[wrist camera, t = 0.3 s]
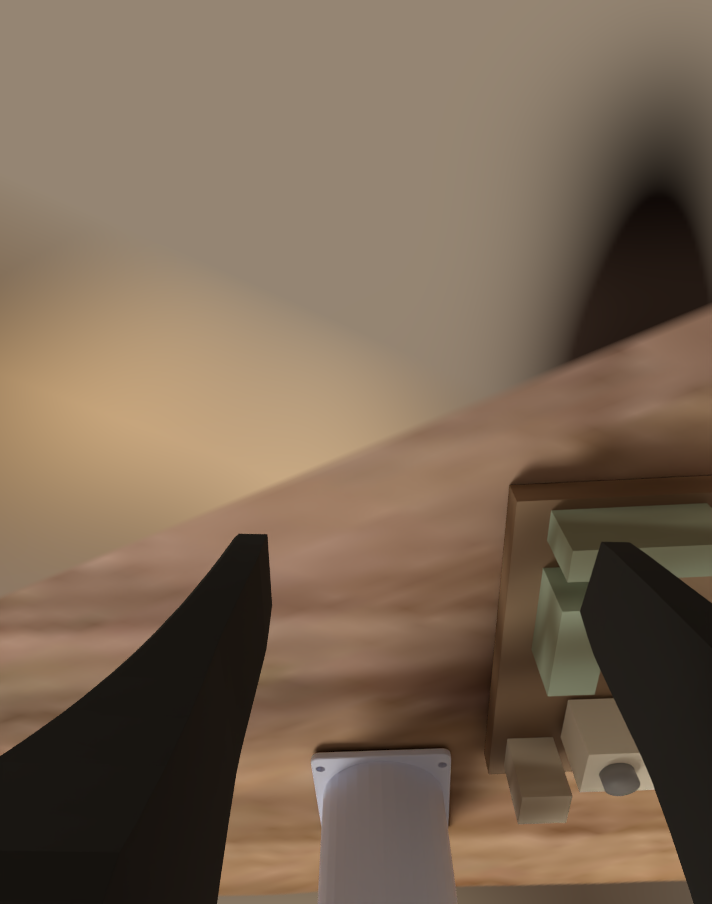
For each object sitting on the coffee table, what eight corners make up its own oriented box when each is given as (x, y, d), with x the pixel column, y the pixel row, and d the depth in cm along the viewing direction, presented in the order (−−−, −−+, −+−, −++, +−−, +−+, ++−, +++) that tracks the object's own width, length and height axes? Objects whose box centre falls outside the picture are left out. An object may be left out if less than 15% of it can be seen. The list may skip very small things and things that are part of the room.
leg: (560, 736, 29) (584, 805, 26) (568, 699, 27) (594, 767, 24) (804, 728, 28) (856, 796, 25) (825, 690, 27) (883, 758, 24)
